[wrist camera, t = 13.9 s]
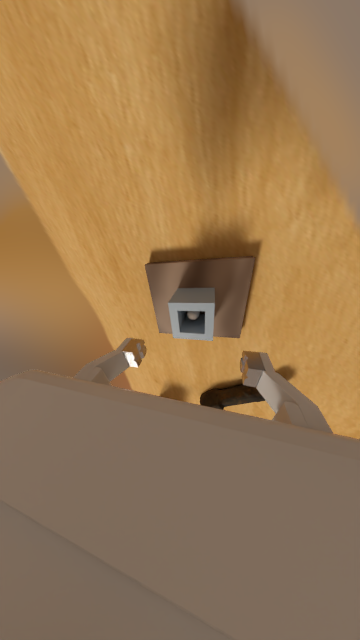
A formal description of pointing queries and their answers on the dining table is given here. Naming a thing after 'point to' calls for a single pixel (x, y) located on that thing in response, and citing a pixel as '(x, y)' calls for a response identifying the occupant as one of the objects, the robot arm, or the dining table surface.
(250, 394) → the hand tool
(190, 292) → the collar
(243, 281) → the mounting plate
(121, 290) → the dining table surface
